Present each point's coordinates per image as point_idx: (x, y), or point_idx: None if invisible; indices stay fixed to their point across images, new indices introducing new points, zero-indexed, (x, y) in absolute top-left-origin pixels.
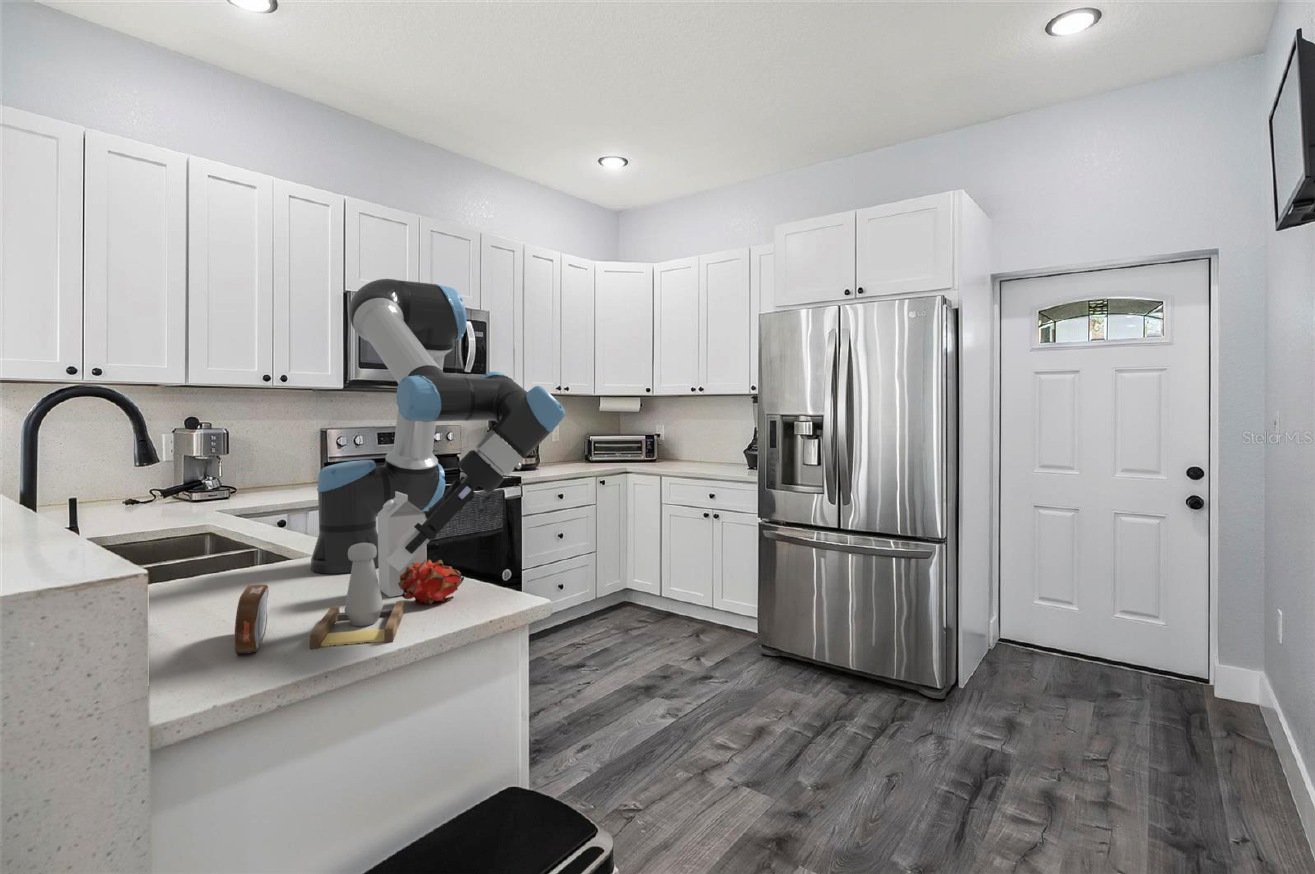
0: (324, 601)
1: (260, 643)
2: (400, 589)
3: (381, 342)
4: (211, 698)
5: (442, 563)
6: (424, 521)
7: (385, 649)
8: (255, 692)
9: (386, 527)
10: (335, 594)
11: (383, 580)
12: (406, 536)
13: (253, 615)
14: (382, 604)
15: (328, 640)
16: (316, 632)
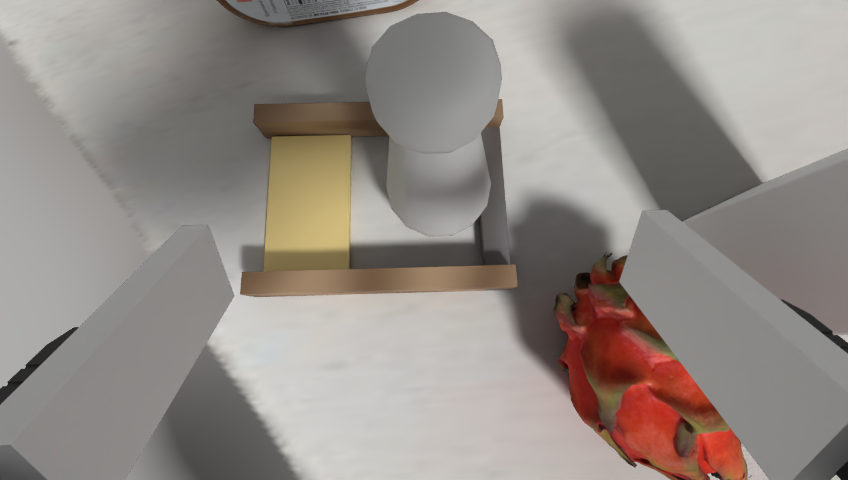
0: (655, 68)
1: (321, 19)
2: None
3: None
4: (51, 27)
5: (695, 433)
6: (803, 407)
7: None
8: (46, 87)
9: None
10: (723, 80)
11: (753, 189)
12: (678, 262)
13: None
14: (443, 233)
15: (292, 147)
16: (273, 113)
